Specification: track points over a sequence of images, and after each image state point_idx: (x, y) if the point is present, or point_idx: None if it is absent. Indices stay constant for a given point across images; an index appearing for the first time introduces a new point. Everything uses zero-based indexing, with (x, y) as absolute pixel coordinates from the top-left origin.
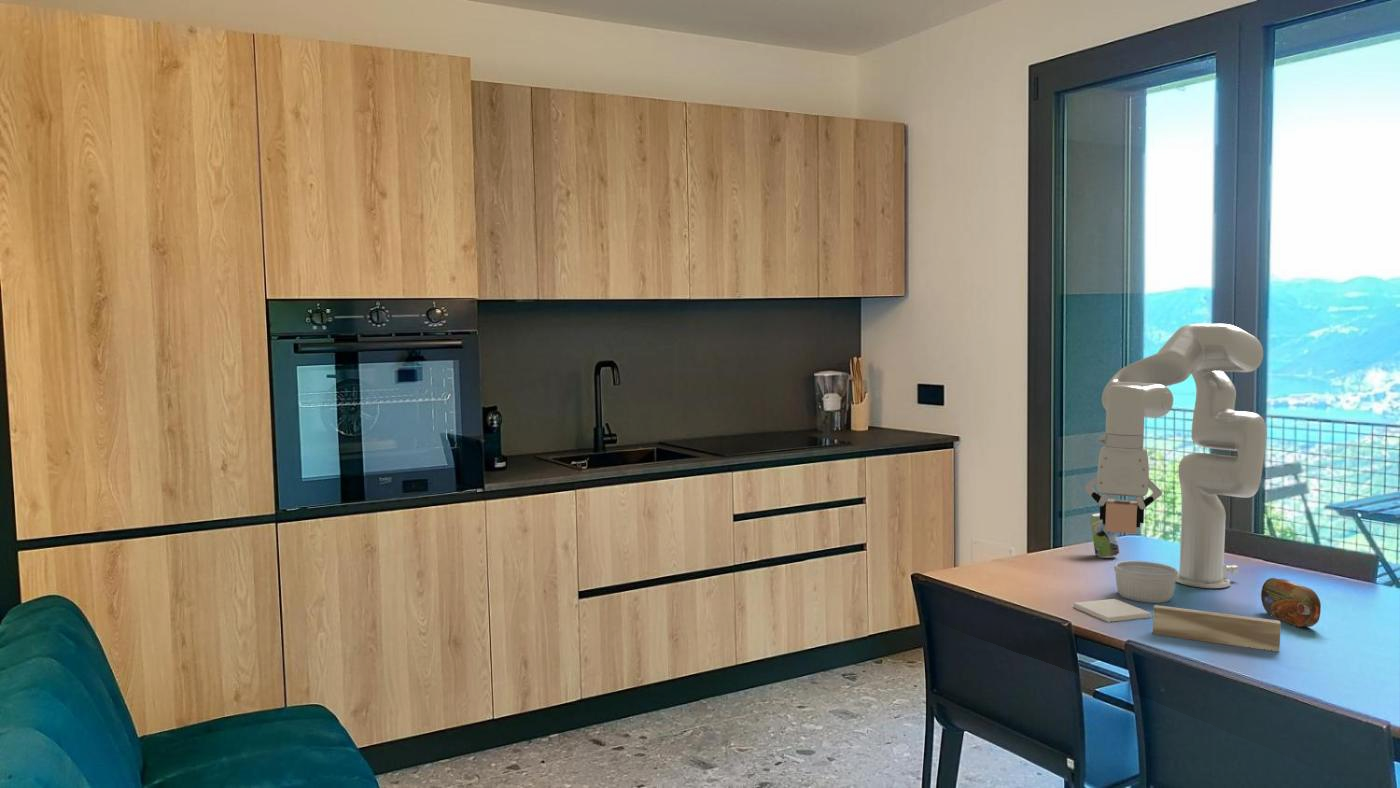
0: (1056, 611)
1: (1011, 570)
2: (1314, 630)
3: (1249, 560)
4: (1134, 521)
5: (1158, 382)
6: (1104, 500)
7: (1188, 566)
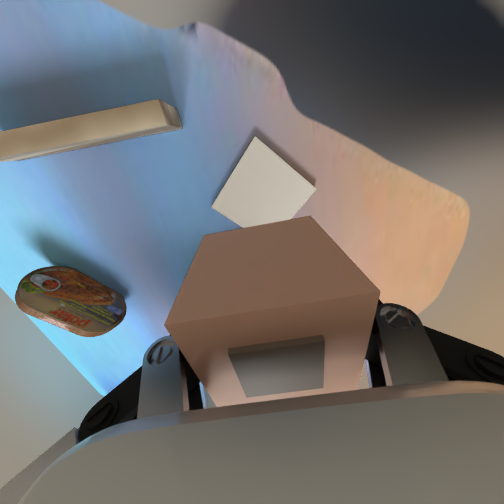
0: (336, 145)
1: (397, 299)
2: None
3: None
4: (200, 258)
5: None
6: (392, 339)
7: None
